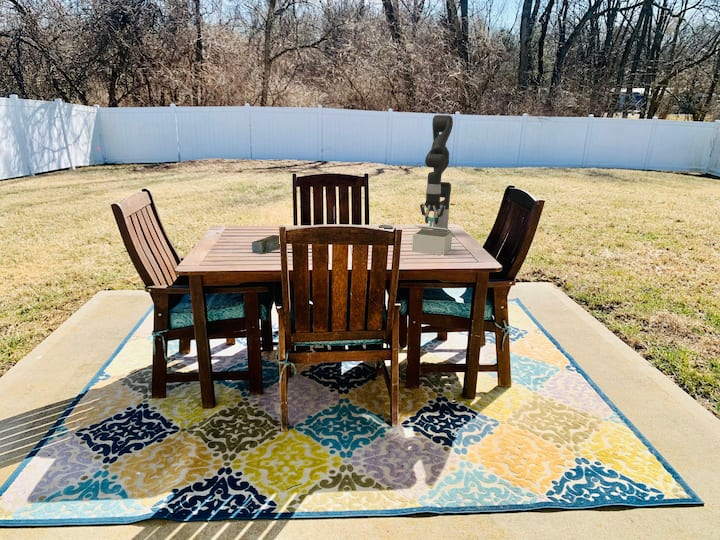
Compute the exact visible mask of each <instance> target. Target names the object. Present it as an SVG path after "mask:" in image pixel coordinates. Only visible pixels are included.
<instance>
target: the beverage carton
mask: <svg viewBox="0 0 720 540" xmlns="http://www.w3.org/2000/svg"><path fill="white" fill-rule="evenodd" d="M279 236H280V235H274V234H272V235H269V236H267V237H264V238H261V239H257V240H255V241H252V242H251V250H252V253H254V252H255V254H259V253H260V254H261V255H264V253H265V254H267V253H270V252H272V250H273V251H275V250H274V249H276V250H278V249H281V248H280V244H279ZM269 251H270V252H269Z"/></svg>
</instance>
